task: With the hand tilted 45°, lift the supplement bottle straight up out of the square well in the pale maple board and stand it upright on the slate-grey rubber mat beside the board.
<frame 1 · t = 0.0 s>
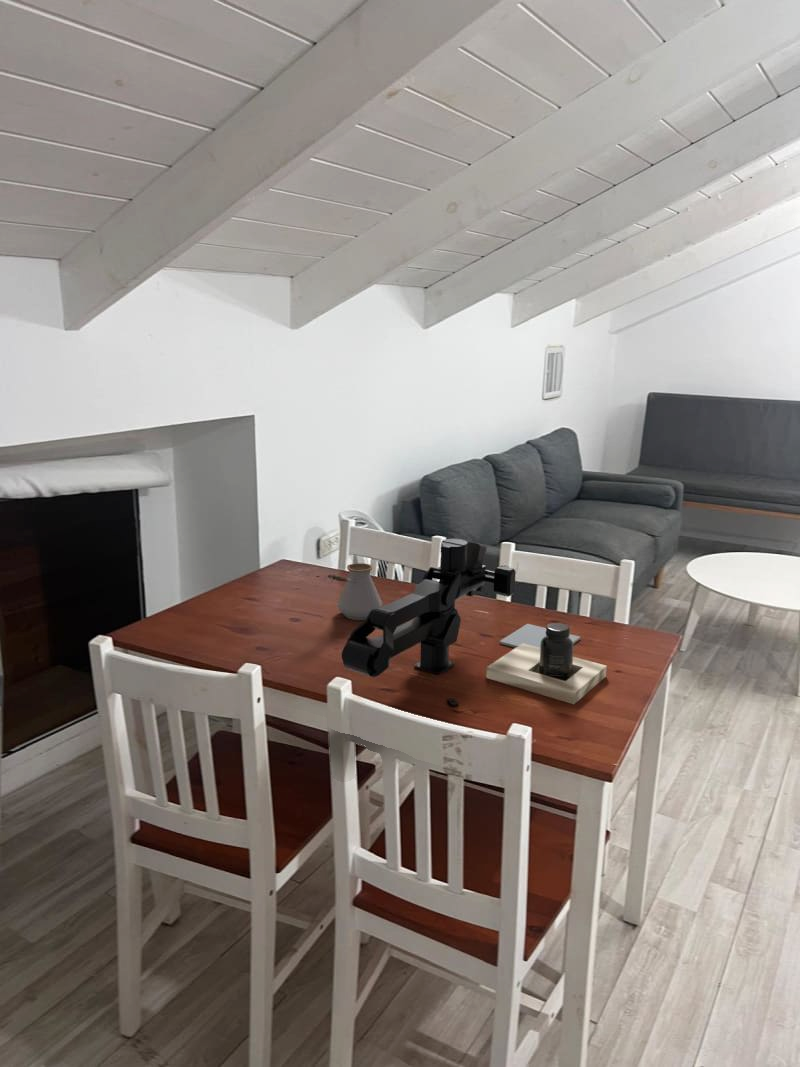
hand: (495, 566, 192), 17 cm above the table, tool horizontal, fingers open, 9 cm apart
supplement bottle: (554, 680, 170), resting in well board
well board: (546, 677, 171), on the table
rubber mat: (540, 641, 190), on the table
coffee pot: (350, 621, 202), on the table
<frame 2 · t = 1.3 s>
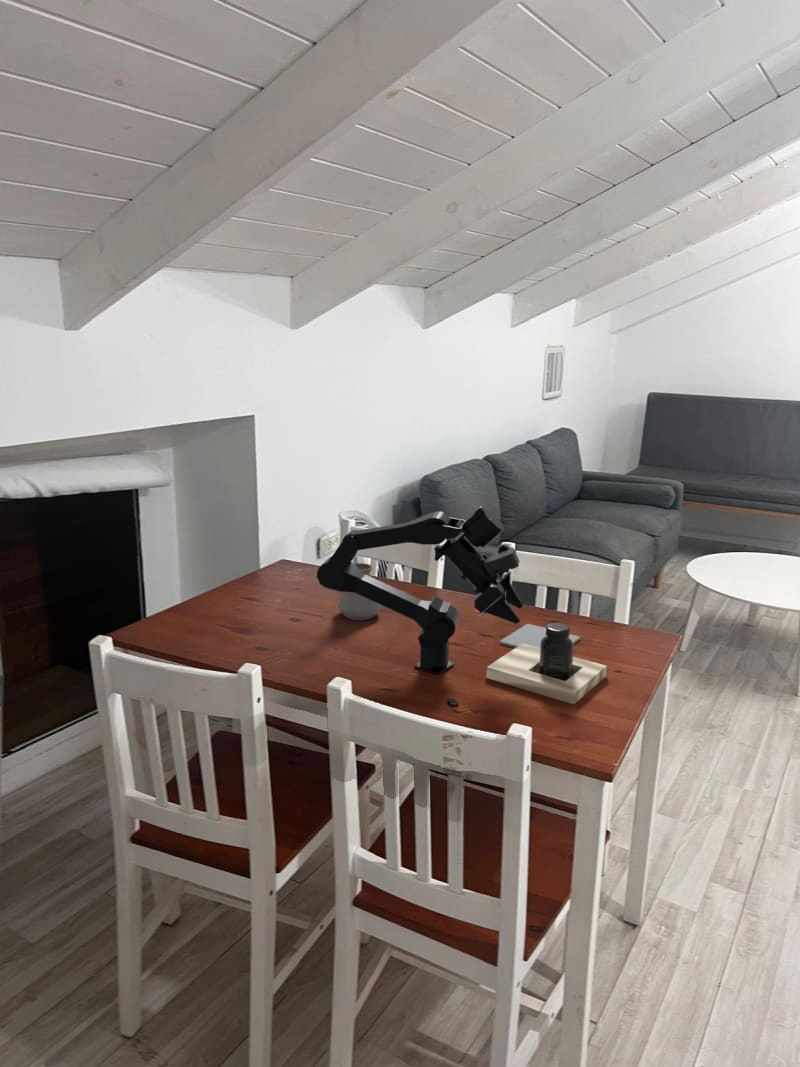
hand: (520, 614, 169), 14 cm above the table, tool tilted 45°, fingers open, 9 cm apart
nothing on the table moved.
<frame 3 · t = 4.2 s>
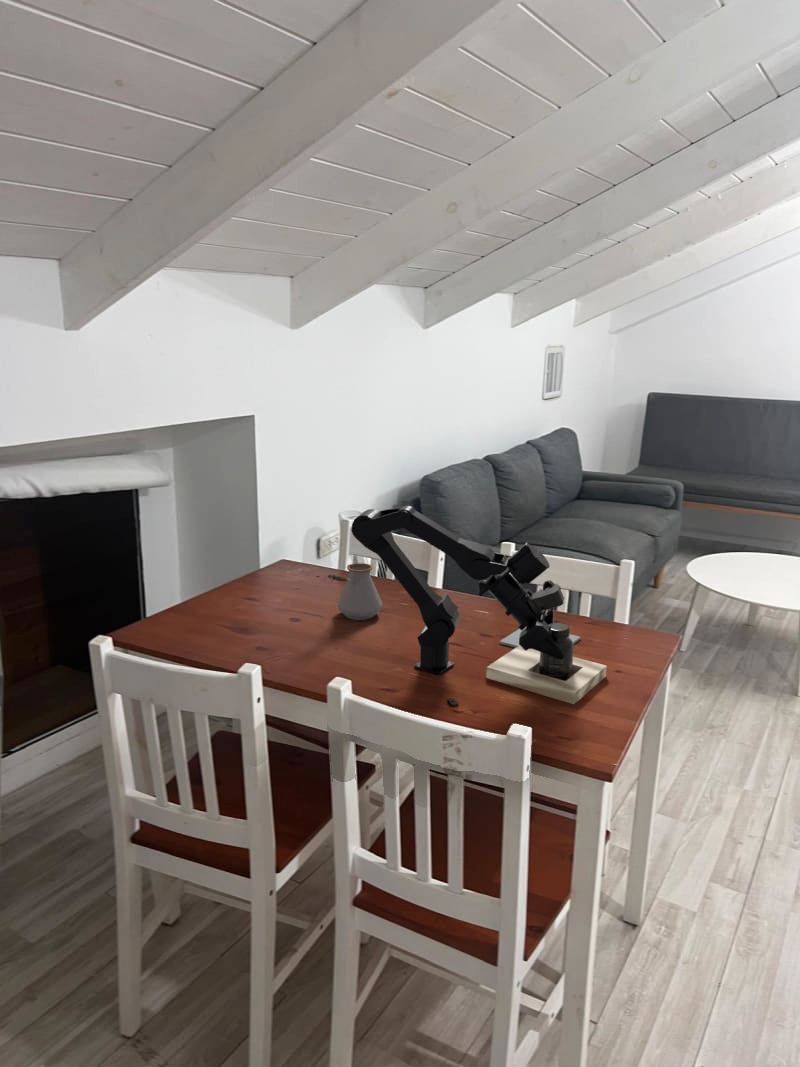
hand: (563, 651, 168), 7 cm above the table, tool tilted 45°, fingers closed on supplement bottle, 7 cm apart
supplement bottle: (554, 680, 170), resting in well board, touching gripper
everything else where it was.
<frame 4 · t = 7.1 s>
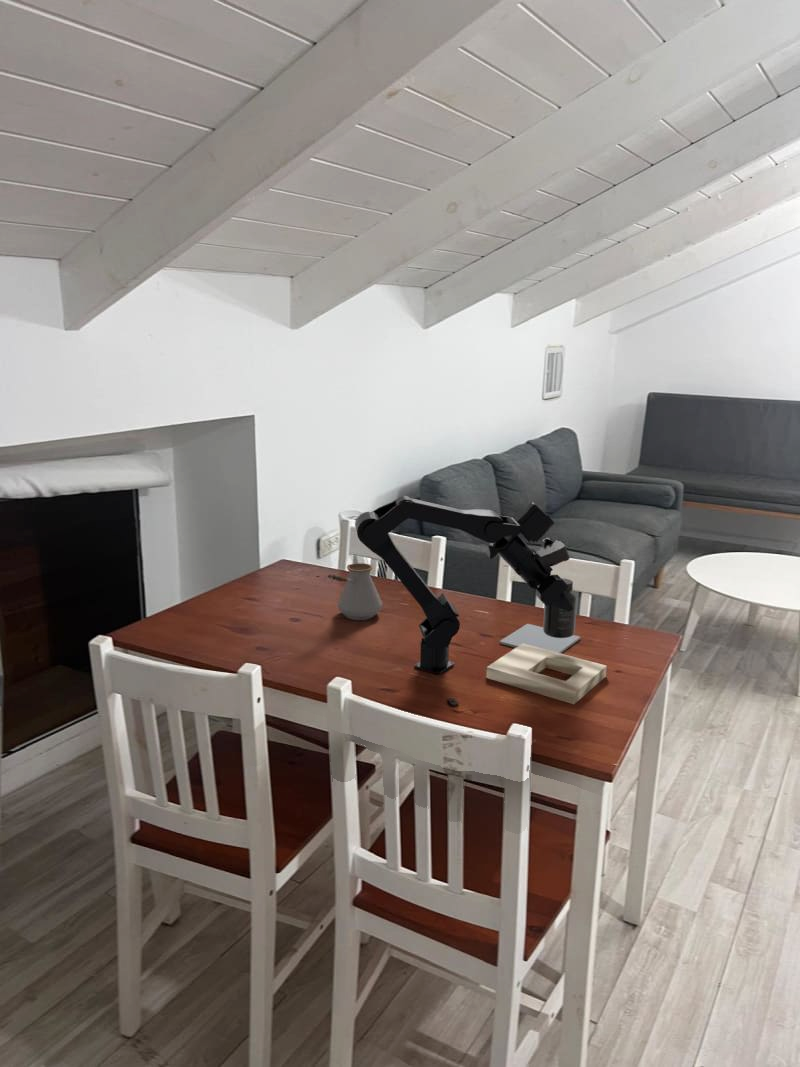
hand: (566, 604, 176), 13 cm above the table, tool tilted 45°, fingers closed on supplement bottle, 7 cm apart
supplement bottle: (558, 633, 177), point 7 cm above the table, touching gripper
everything else where it was.
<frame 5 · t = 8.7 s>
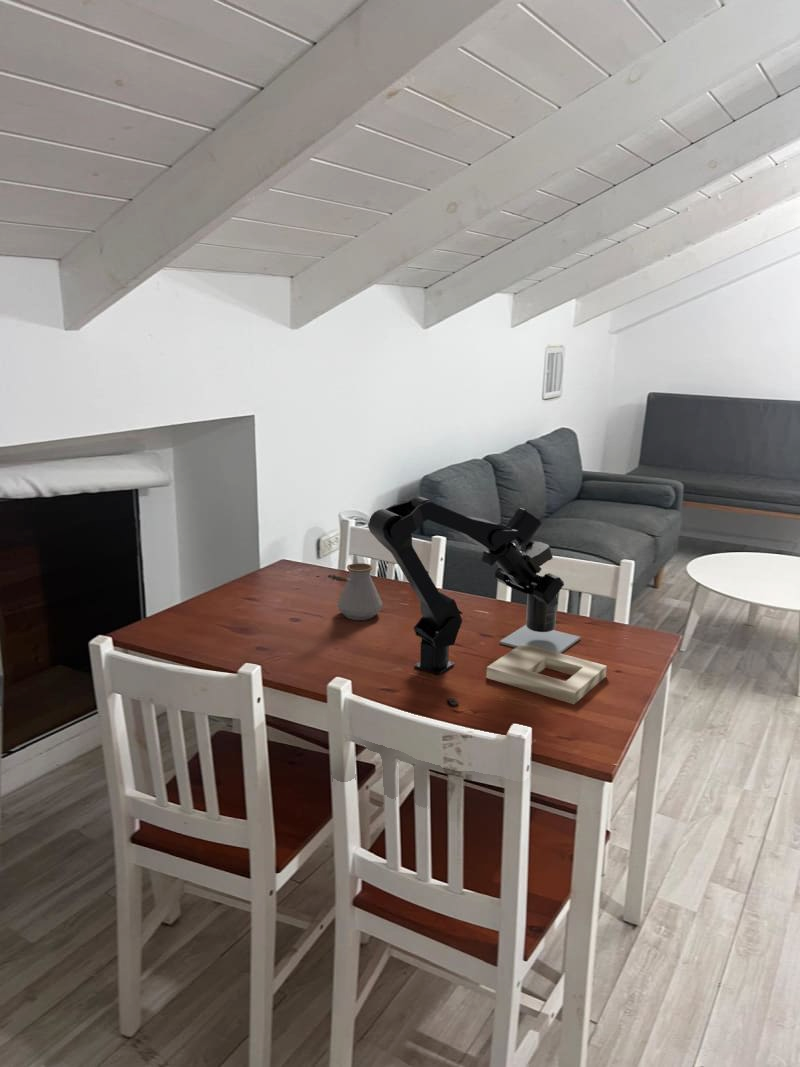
hand: (546, 599, 188), 10 cm above the table, tool tilted 45°, fingers closed on supplement bottle, 7 cm apart
supplement bottle: (540, 628, 189), point 3 cm above the table, touching gripper
everything else where it was.
when the fingers open (8 cm above the table, at t = 10.0 s): supplement bottle drops 1 cm, resting on rubber mat.
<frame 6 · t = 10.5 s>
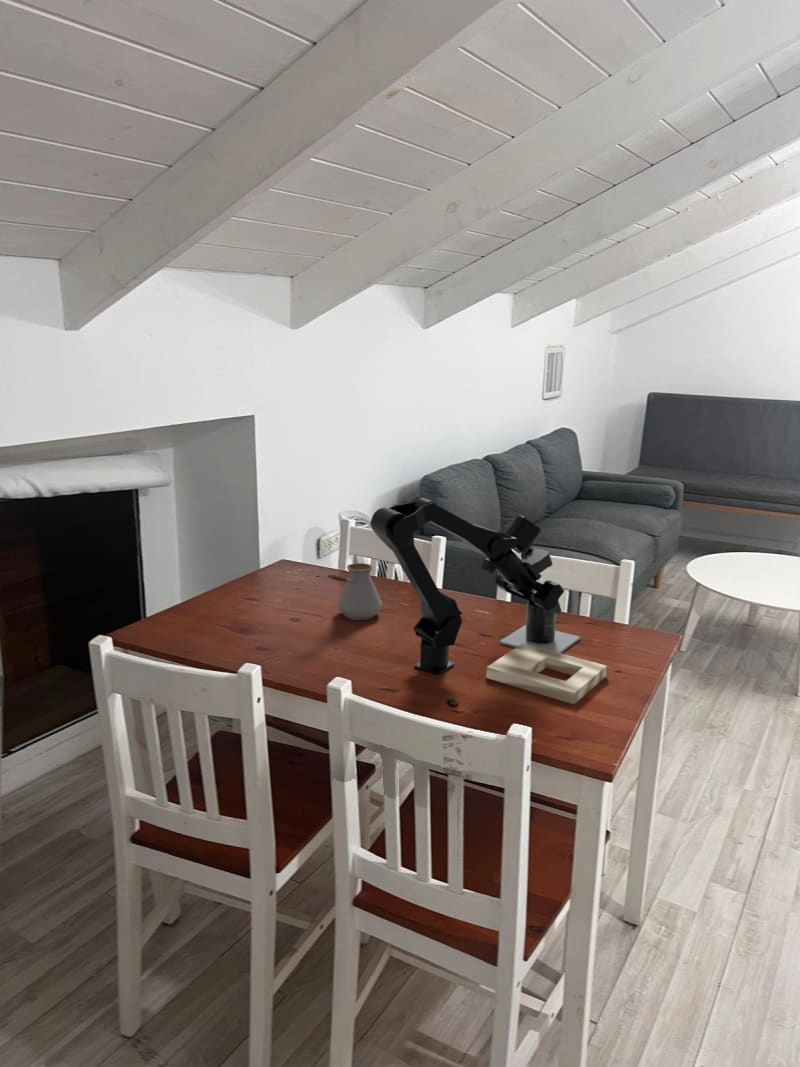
hand: (546, 606, 189), 9 cm above the table, tool tilted 45°, fingers open, 9 cm apart
supplement bottle: (539, 639, 190), resting on rubber mat
everything else where it was.
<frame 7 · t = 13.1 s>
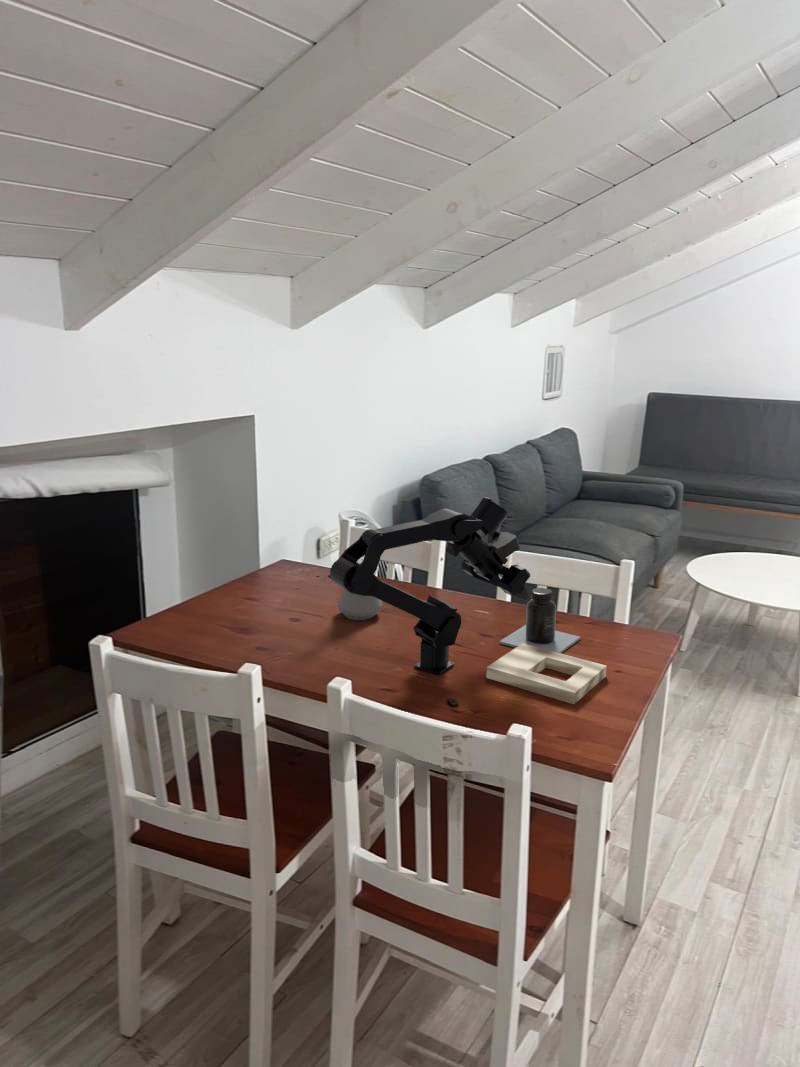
hand: (514, 591, 183), 14 cm above the table, tool tilted 45°, fingers open, 9 cm apart
nothing on the table moved.
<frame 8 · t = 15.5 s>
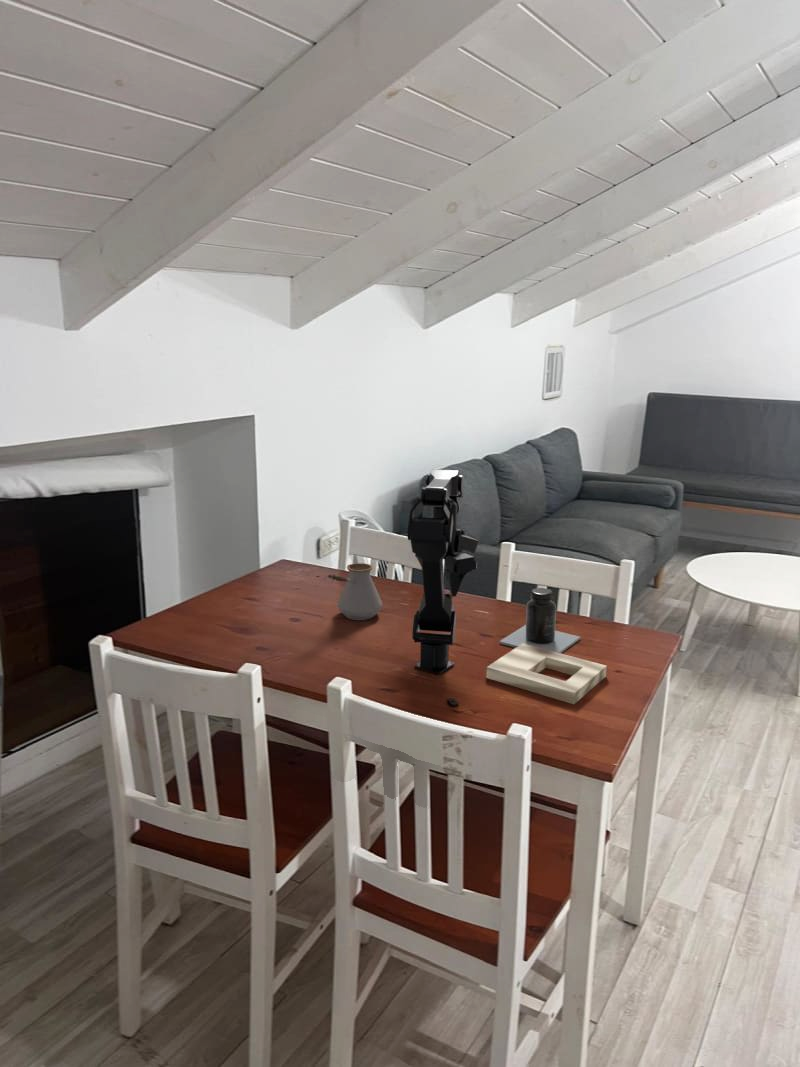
hand: (442, 590, 186), 13 cm above the table, tool pointing down, fingers open, 9 cm apart
nothing on the table moved.
at the end: supplement bottle inside the target area on the rubber mat (0.1 cm from its centre), point 0.4 cm above the rubber mat's base; supplement bottle tilted 0°; the gripper is holding nothing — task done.
